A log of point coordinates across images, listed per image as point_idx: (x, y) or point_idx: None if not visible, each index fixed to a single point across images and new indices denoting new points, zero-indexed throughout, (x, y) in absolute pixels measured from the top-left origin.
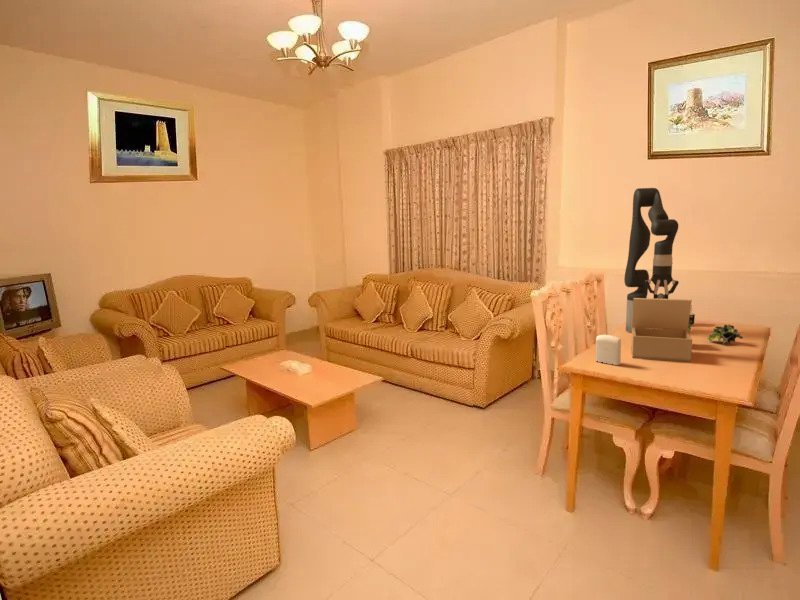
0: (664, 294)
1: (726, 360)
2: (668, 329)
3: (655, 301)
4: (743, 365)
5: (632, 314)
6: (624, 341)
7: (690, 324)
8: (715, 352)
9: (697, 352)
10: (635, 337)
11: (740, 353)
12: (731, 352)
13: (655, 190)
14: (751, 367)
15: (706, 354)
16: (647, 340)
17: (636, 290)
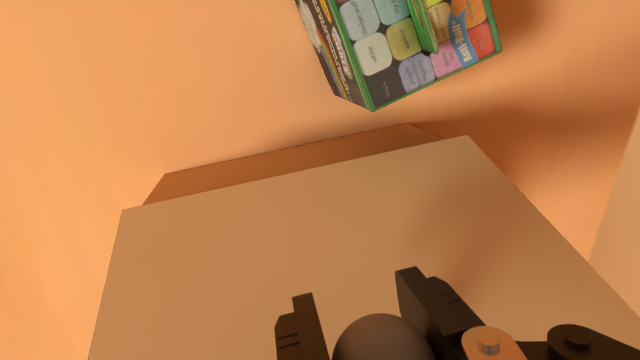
0: (442, 342)
1: (539, 181)
2: (354, 93)
3: None
4: (578, 217)
5: (99, 313)
6: (85, 42)
7: (501, 48)
8: (522, 73)
9: (453, 109)
10: None
11: (612, 43)
12: (582, 41)
13: None
14: (595, 228)
15: (484, 126)
16: None
17: None
